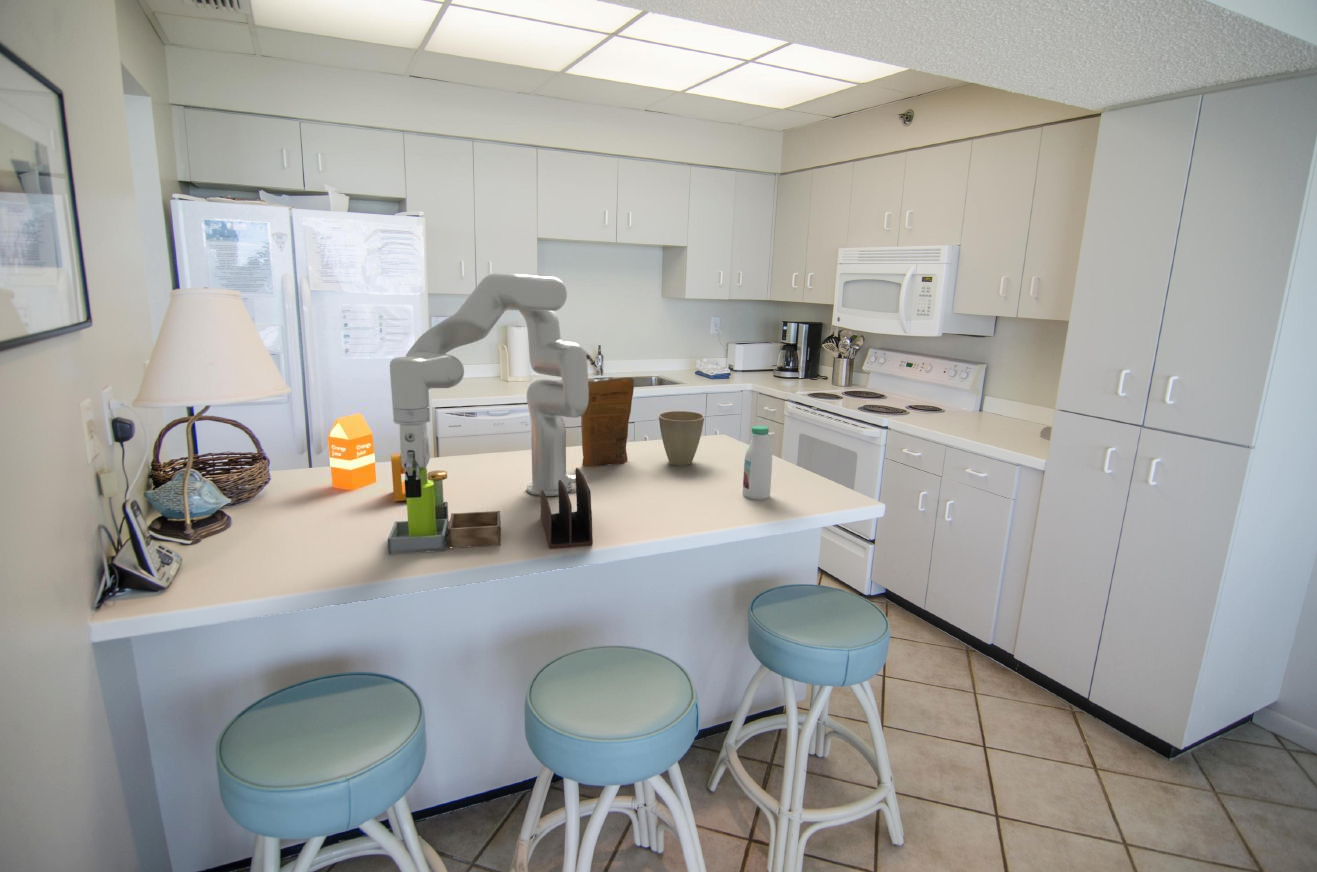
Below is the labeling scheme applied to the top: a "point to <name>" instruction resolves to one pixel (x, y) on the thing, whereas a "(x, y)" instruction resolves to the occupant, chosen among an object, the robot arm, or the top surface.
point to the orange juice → (351, 453)
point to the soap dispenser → (422, 509)
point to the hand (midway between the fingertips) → (416, 490)
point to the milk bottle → (758, 465)
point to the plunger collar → (442, 512)
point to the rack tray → (417, 539)
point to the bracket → (398, 478)
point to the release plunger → (438, 485)
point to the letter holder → (568, 517)
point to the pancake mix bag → (606, 422)
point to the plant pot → (681, 435)
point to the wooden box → (474, 529)
